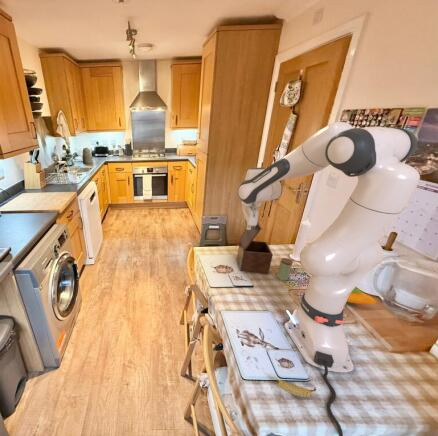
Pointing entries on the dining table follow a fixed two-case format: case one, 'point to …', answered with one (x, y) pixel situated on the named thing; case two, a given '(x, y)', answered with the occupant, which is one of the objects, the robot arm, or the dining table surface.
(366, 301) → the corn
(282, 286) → the dining table surface
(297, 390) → the banana
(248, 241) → the lid
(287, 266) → the spice jar
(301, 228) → the candle
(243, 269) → the box
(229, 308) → the dining table surface
